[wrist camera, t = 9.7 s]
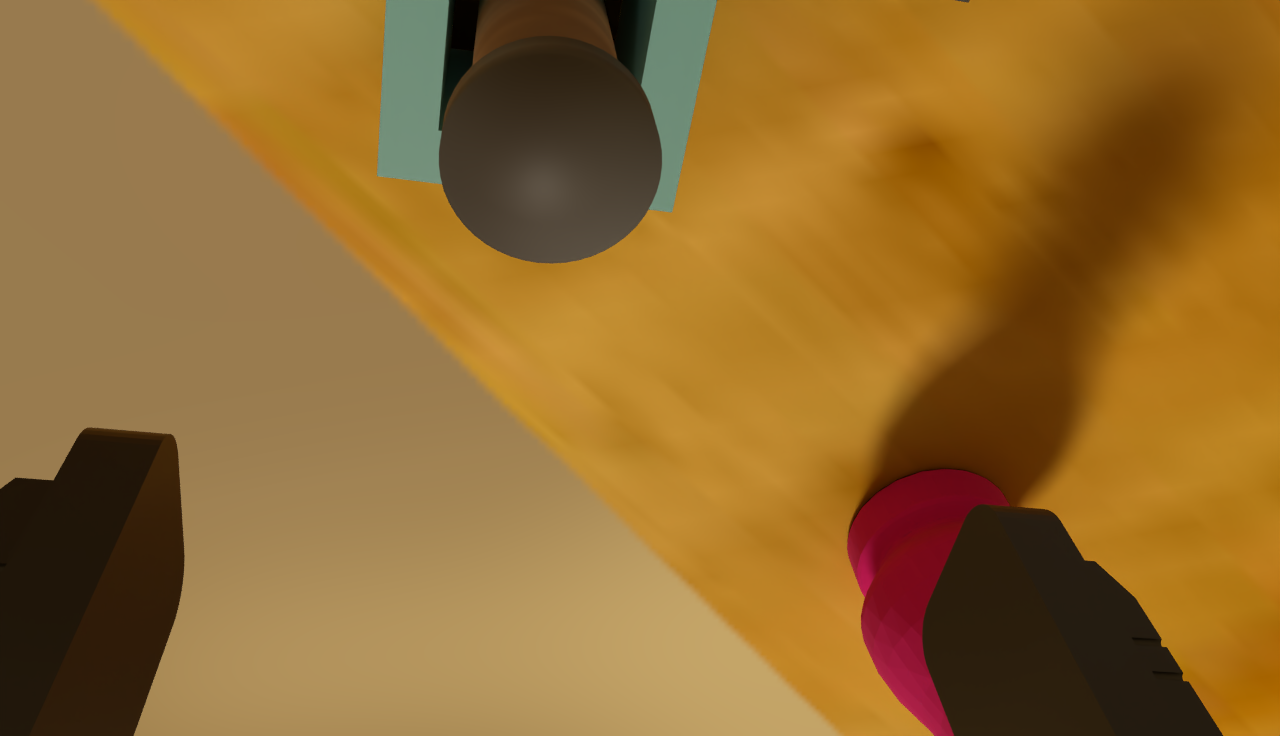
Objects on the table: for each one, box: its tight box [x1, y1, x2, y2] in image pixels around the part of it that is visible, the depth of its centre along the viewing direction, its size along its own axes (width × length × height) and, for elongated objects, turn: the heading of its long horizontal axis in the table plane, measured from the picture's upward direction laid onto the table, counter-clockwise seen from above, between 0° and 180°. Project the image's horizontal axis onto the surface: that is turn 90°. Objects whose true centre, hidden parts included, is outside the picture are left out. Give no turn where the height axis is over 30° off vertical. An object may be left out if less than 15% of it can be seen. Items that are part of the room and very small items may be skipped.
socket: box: [377, 0, 717, 212], centre depth 27 cm, size 7×7×6 cm
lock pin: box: [439, 0, 662, 263], centre depth 24 cm, size 4×4×12 cm
